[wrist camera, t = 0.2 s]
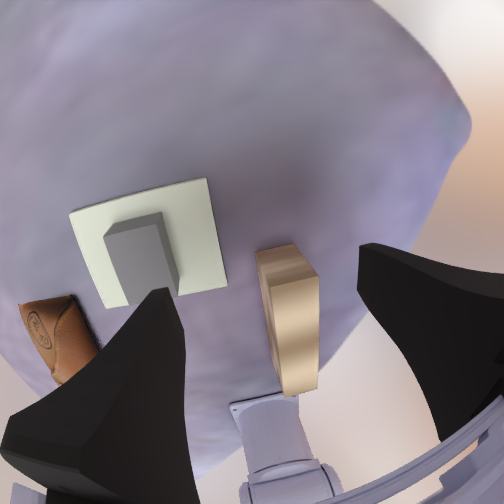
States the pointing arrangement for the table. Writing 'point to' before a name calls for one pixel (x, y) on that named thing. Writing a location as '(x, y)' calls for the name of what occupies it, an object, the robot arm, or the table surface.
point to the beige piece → (291, 316)
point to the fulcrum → (151, 243)
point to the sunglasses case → (59, 335)
